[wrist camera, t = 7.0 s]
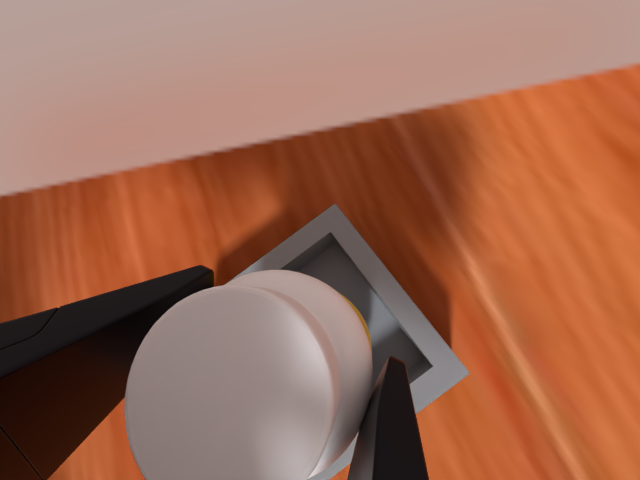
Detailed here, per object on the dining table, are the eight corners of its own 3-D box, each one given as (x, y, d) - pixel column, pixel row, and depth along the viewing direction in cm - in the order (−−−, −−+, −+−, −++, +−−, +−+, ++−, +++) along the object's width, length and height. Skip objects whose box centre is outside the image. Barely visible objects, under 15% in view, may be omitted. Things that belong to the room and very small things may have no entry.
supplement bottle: (263, 283, 16) (122, 238, 7) (373, 291, 15) (386, 252, 6) (249, 400, 15) (55, 544, 6) (368, 415, 14) (374, 613, 5)
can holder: (300, 475, 16) (285, 512, 13) (209, 317, 18) (179, 318, 15) (451, 362, 16) (470, 373, 13) (340, 220, 18) (335, 203, 15)
